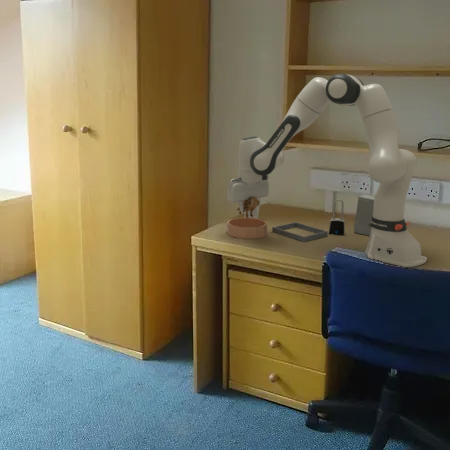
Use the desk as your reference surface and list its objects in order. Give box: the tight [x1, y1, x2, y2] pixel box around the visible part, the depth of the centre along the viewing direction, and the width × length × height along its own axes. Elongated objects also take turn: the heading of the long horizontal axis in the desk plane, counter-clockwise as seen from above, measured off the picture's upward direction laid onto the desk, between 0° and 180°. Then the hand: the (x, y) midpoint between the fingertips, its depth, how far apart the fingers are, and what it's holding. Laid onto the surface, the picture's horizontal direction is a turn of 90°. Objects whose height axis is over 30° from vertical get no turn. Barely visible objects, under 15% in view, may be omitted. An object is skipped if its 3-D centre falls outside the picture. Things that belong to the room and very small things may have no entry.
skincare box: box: [353, 194, 375, 237], centre depth 244 cm, size 8×7×16 cm
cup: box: [243, 198, 261, 219], centre depth 260 cm, size 8×8×16 cm
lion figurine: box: [236, 196, 261, 218], centre depth 241 cm, size 15×5×9 cm, turn 32°
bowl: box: [226, 217, 268, 240], centre depth 242 cm, size 16×16×4 cm
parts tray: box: [271, 221, 329, 243], centre depth 243 cm, size 18×14×2 cm
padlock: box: [328, 198, 346, 236], centre depth 242 cm, size 7×4×15 cm, turn 78°
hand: (247, 209), depth 240 cm, fingers closed on lion figurine, 4 cm apart
